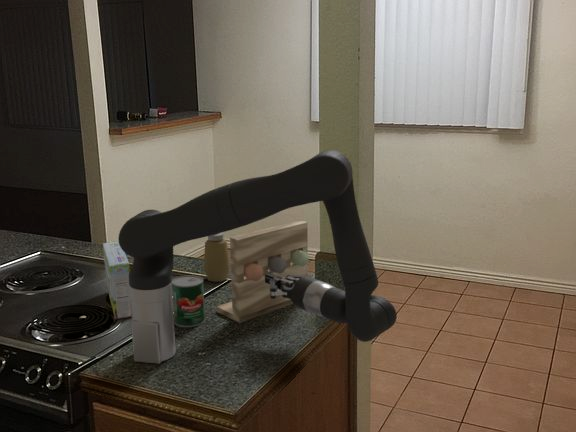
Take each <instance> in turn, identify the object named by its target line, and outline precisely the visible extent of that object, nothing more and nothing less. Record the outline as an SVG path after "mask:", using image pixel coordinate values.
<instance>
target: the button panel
mask: <svg viewBox="0 0 576 432" xmlns="http://www.w3.org/2000/svg"><path fill="white" fill-rule="evenodd" d="M308 244H309V243H308V221H304V220H300V219H299V220H296V221H291V222H287V223H282V224H280V225H276V226H272V227H271V226H270V227H268V228H267V227H266V228H263V229H258V230H255V231H251V232H247V233H243V234H240V235H239V234H238V235H235V236H231V237H229V245H230V246H229V248H230V249H229V251H230V254H229V255H230V278H231V279H230V280H231V281H230V282H231V301H229V302H226V303H223V304H220V305H217V306H216V307H215V308H216V313H219V314H221V315H223V316H225V317H227V318H229V319H230V320H233V321H235V322H237V323H239V324H241V323H245V322H246V321H249V320H252V319H255V318H257V317H260V316H264V315H266V314H269V313H271V312H274V311H277V310H280V309H283V308H285V307H288V306H292V305H294V304H293V302H292V301H291V299H289V298H284V297H283V296H282V295H278V296H276V298H275V299H271V297H270V284H267V283H265V274H269V273H271V274H274V275H277V276H284V277H286V275H301V276H309V273H308V270H309V269H308V268H309V267H308V265H309V264H308V263H309V261H308V262H307V264H306V265H305V266H303V267H302V266H298V265H295V264H293V263H291V251H292V250H295V249H297V250H300V251H304V252H306V253H307V254H308V248H309V247H308ZM308 255H309V254H308ZM271 256H277V257H280V258H283V259H285V260H286V262H287V267H286V269H285V271H284V272H283V273H281V274H279V273H276V272H273V271H270V270H268V257H271ZM250 262H251V263H254V264H256V265H259V266H261V267H262V268H263V276H262V278H261V279H260V280H258V281H253V280H251V279H248V278H246V277H244V264H247V263H250Z"/></svg>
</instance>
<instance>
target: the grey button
mask: <svg viewBox="0 0 576 432" xmlns="http://www.w3.org/2000/svg"><path fill="white" fill-rule="evenodd" d="M286 267H287V262H286V260H285V259H283V258H280V257H277V256H271V257H268V270H270V271H273V272H276V273H279V274H281V273H283V272H284V271H285V269H286Z"/></svg>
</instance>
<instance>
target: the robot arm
mask: <svg viewBox="0 0 576 432" xmlns="http://www.w3.org/2000/svg"><path fill="white" fill-rule="evenodd" d="M353 172H354V171H353V167H352V164H351V162H350V160H349V158H348V157H346V155H344V154H343V153H342V152H341V151H337V150H332V149H330V150H329V149H328V150H324V151H321V152H319V153H317V154H316V155H314V156H313V157H311V158H310V159H307V160H306V161H304V162H302V163H299V164H297V165H296V166H292V167H290V168H288V169H286V170H284V171H281V172H280V171H279V172H278V173H275V174H270V175H265V176H257V177H251V178H246V179H242V180H237V181H234V182H231V183H228V184H224V185H222V186H219V187H217V188H214V189H211V190H209V191H206V192H205V193H202V194H201V195H198V196H196V197H194V198H192V199H190V200H189V201H187V202H185V203H183V204H182V205H179V206H177V207H175V208H173V209H170V210H166V211H163V212H162V211H159V210H156V209H145V210H142V211H141V212H139V213H137V214H136V215H134V216H132V217H130V218H129V219H128V220H127V221H125V223H124V224H123V225H122V226H121V229H120V231H119V232H118V241H119V245H120V247H121V249H122V250H123V251H124V252H125V254H126V256H129V257H132V258H133V261H132V264H131V266H130V272H129V289H130V302H131V315H132V317H131V323H130V324H131V336H132V337H131V338H132V349H133V360H134V362H139V363H148V364H150V363H151V364H156V365H157V364H161V363H162V362H164V361H167V360H170V359H171V358H172V357H174V356H175V354H176V351H177V350H176V336H175V335H176V333H175V323H174V308H173V292H172V291H173V290H172V273H173V268H174V247H175V246H178V245H180V244H182V243H186V242H188V241H192V240H193V241H194V240H198V239H202V238H206V237H207V238H208V236H211V235H214V234H218V233H226V232H228V231H229V232H230V231H232V230H235V229H238V228H243V227H245V226H248V225H250V224H253V223H255V222H256V223H257V222H259V221H262V220H264V219H267V218H270V217H271V216H273V215H276V214H278V213H280V212H282V211H284V210H288V209H292V208H295V207H299V206H303V205H308V204H312V203H313V204H314V203H317V202H318V203H319V202H323V205H324V207H325V209H326V213H327V216H328V220H329V224H330V229H331V235H332V238H333V239H332V240H333V247H334V252H335V258H336V263H337V266H338V270H339V273H340V276H341V279H342V283H343V285H344V290H343V289H340V288H338V287H335V286H333V285H332V284H330V283H328V282H324V281H323V280H319V279H317V278H314V277H312V276H310V275H308V276H301V275H286V277H284V276H277V275H274V274H271V273H269V274H265V283H267V284H270V297H271V299H275V298H276V296H278V295H282V296H283V297H284V298H289V299H291V301H292V302H293V304H292V305H294V306H295V307H296V308H299V309H301V310H303V311H306V312H308V313H310V314H313V315H315V316H317V317H322V318H326V319H328V320H329V321H332V322H335V323H337V324H342V325H344V324H347V326H348V329H349V331H350V333H351V335H352V336H353V337H354V338H355V339H356V340H358V341H360V342H362V343H363V342H364V343H367V342H370V341H373V340H374V339H376V338H377V337H379V336H380V335H382V334H383V333H385V332H386V331H388V330H389V329H391V328H392V327H393V326H394V325H395V324H396V321H397V317H398V316H397V311H396V308H395V306H394V305H393V304H392V302H390V301H389V300H388V299H386V298H385V297H383V296H379V295H375V294H373V293H374V292H375V290H376V289H377V288H378V285H379V279H378V278H379V277H378V274H377V271H376V267H375V265H374V261H373V258H372V255H371V252H370V251H371V250H370V248H369V246H368V242H367V239H366V236H365V232H364V230H363V229H364V228H363V226H362V222H361V220H360V215H359V210H358V206H357V200H356V194H355V187H354V186H355V185H354V179H353V178H354V177H353Z"/></svg>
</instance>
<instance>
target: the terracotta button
mask: <svg viewBox="0 0 576 432" xmlns="http://www.w3.org/2000/svg"><path fill="white" fill-rule="evenodd" d="M262 276H263V268H262V267H261V266H259V265H256V264H254V263H251V262H250V263H247V264H244V277H246V278H248V279H251V280H253V281H258V280H260V279H261V278H262Z"/></svg>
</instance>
